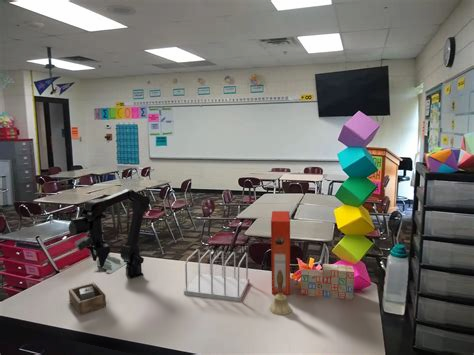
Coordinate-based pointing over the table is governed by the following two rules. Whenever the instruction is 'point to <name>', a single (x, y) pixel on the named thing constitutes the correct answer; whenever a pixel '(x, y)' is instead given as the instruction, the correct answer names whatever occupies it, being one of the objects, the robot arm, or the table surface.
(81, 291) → the dice cube
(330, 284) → the stack of blocks
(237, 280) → the file sorter
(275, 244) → the file binder
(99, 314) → the table surface
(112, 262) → the metal bracket
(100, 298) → the open wooden box
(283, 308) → the hand bell
